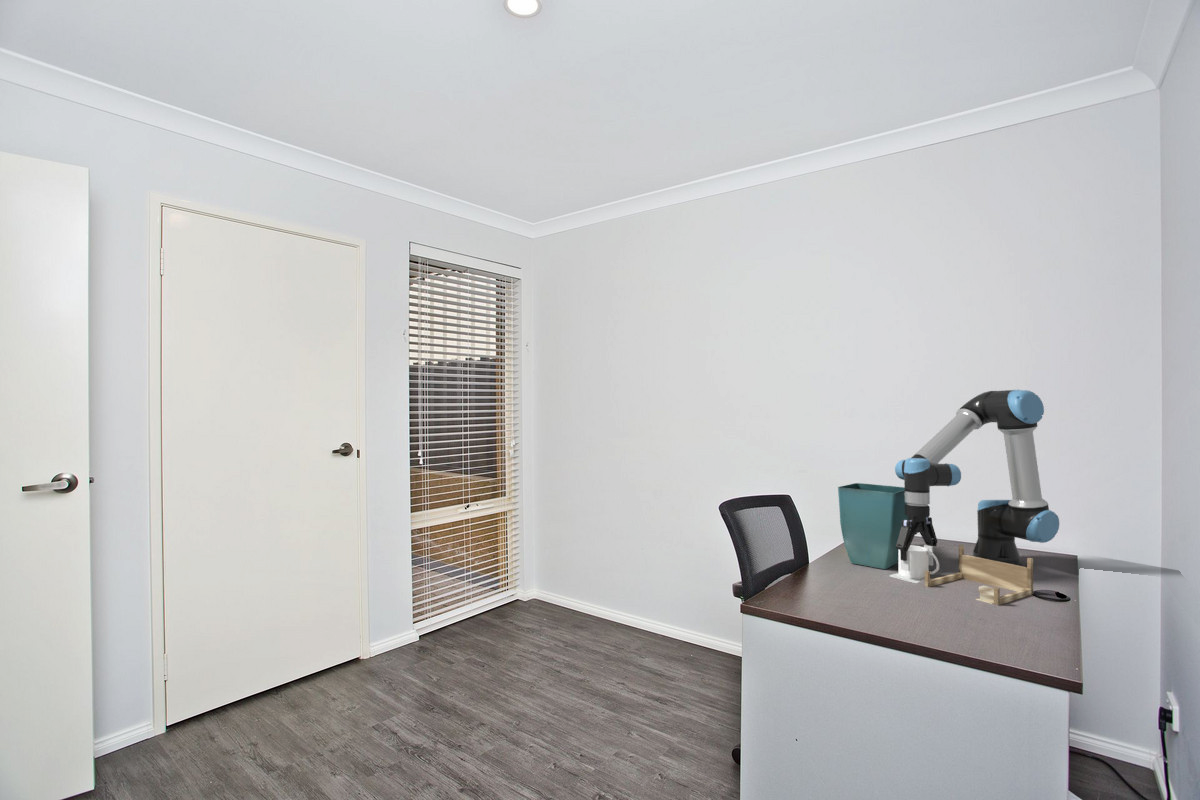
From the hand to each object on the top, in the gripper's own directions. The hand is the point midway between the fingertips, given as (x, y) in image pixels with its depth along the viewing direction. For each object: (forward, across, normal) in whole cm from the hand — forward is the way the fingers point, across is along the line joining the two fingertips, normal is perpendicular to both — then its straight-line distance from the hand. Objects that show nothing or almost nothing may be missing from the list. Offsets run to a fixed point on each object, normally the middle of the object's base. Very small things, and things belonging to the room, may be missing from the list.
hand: (917, 567), depth 199 cm
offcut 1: (0, +8, +26) cm, 28 cm away
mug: (+3, -1, 0) cm, 3 cm away
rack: (+4, 0, +20) cm, 20 cm away
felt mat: (+4, 0, 0) cm, 4 cm away
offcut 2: (+2, +8, +26) cm, 28 cm away
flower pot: (+4, -5, -19) cm, 20 cm away
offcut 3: (+4, +8, +26) cm, 28 cm away
